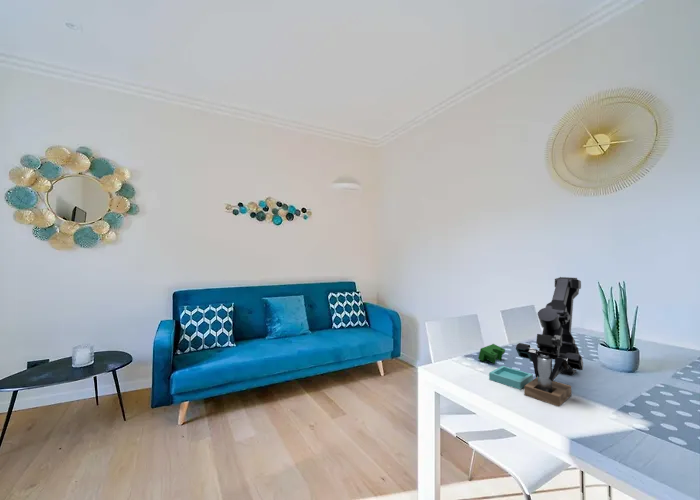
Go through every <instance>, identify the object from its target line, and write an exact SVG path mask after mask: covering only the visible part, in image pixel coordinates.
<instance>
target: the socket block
mask: <svg viewBox="0 0 700 500" xmlns="http://www.w3.org/2000/svg"><path fill="white" fill-rule="evenodd" d="M523 389H524V392H523V393H524V396H527V397H530V398H533V399H535V400H539V401H542V402H544V403H548V404H550V405H552V406H553V405H554V406H556V407H560V406H562V404H564V403H565V402H566V401H567V400H568V399H569V398H571V396H572V385H569V384H566V383H563V382H559V381H555V380H553V381H552V393H549V392H545V391H542V390H539V389H538V377H535V378H533V380H532V381H531V382H529V383H528V384H526V385H525V386H524V387H523Z"/></svg>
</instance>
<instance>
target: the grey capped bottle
mask: <svg viewBox="0 0 700 500" xmlns="http://www.w3.org/2000/svg"><path fill="white" fill-rule="evenodd" d="M552 371H553V359H552V358H550V357H549V355H547V354H540V356H538V389H539V390H542V391H545V392H549V393H552V381H551V374H552Z"/></svg>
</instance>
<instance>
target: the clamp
mask: <svg viewBox="0 0 700 500" xmlns="http://www.w3.org/2000/svg"><path fill="white" fill-rule="evenodd" d="M505 353H506V349H505V348H503V347H501V346H499V345H497V344H495V343H492V344H489V345H487V346H484V347H481V348H480V350H479V353H478V358H477V359H478V360H480V361H481V362H483V363H484V362H487V361H488V362H491V363H493V364H496V362H497V360H498V361H499V362H501V361H502V358H503V355H504V354H505Z"/></svg>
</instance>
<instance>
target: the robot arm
mask: <svg viewBox="0 0 700 500" xmlns="http://www.w3.org/2000/svg"><path fill="white" fill-rule="evenodd" d="M554 288H555V289H554V291H553V294H552V297H551V298H552V299H551V301H550V302H548V303H546V305H545V307H543V308H541V309H540V310H539V311H538V312H537V317H538V320H539V323H540V326H541V327H542V333H540V334H539V333H537V334H536V341H535V343H536V345H537V346H536V348H537V349H536V348H534V347H533V348H532V347H531V345H530V344H526V343H522V342H518V343H516V346H515V350H516V353H517V354H518V356H519V357H520V358H523V359H528V360H529V361H530V362H532V364H533V369H534V376H535V378H537V377H538V356H540V354H547V355H549V357H550V358H552V360H554V364H553V366H552V374H551V381H555V380H556V379H557V377H558V376H559V375H560V374H565V375H567V376H568V375H569V376H573V375H574V374H575V373H577V371H578V370H579V371H583V370H584V360H583V356H582V355H581V354H580V351H579V348H578V346H577V343H576V340H575V338H574V336H573V335H572V325H573V323H572V321H573V311H574V310H573V309H574V300H575V298H576V297H577V296H578V295H579V293H580V290H581V289H582V281H581V280H580V279H578V277H566V276H562V277H561V276H560V277H556V278H554Z"/></svg>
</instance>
